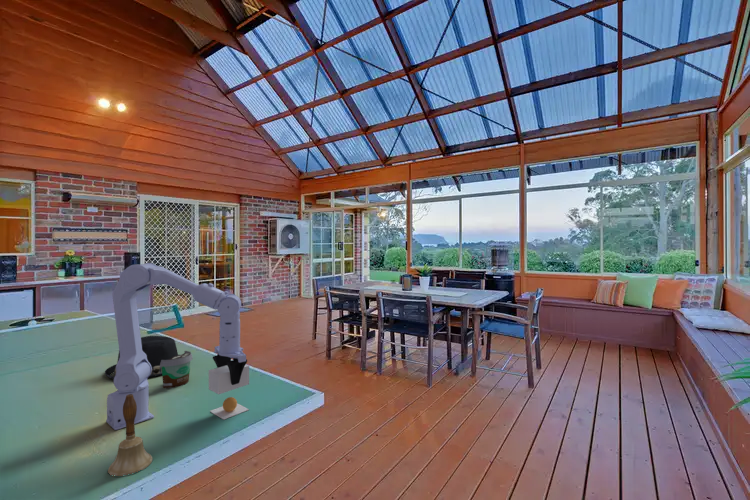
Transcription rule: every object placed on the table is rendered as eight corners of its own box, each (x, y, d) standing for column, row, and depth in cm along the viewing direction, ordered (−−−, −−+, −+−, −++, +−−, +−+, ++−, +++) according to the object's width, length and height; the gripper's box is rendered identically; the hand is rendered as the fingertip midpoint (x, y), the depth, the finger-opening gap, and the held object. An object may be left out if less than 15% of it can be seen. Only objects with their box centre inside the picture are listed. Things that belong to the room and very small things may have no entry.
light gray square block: (223, 419, 102) (223, 419, 102) (209, 411, 107) (209, 410, 107) (249, 410, 108) (249, 409, 108) (234, 402, 113) (234, 401, 113)
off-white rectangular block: (218, 394, 102) (218, 374, 102) (208, 389, 106) (208, 370, 105) (249, 384, 109) (249, 365, 109) (238, 379, 113) (238, 361, 113)
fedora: (101, 369, 143) (101, 337, 143) (178, 355, 161) (178, 328, 161) (108, 388, 124) (108, 352, 124) (194, 370, 143) (194, 339, 142)
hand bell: (128, 480, 76) (128, 404, 76) (98, 473, 78) (98, 399, 78) (161, 458, 84) (161, 389, 83) (133, 452, 86) (133, 385, 86)
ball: (241, 405, 108) (230, 416, 106) (235, 402, 111) (224, 412, 108) (235, 396, 107) (224, 406, 104) (229, 392, 109) (217, 402, 107)
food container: (175, 391, 122) (175, 361, 122) (159, 389, 123) (159, 360, 123) (200, 378, 134) (200, 351, 134) (185, 376, 135) (185, 350, 135)
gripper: (255, 337, 106) (255, 383, 106) (229, 329, 115) (229, 372, 115) (233, 342, 100) (233, 390, 101) (207, 333, 110) (207, 378, 110)
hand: (229, 381), depth 108 cm, fingers closed on off-white rectangular block, 6 cm apart
